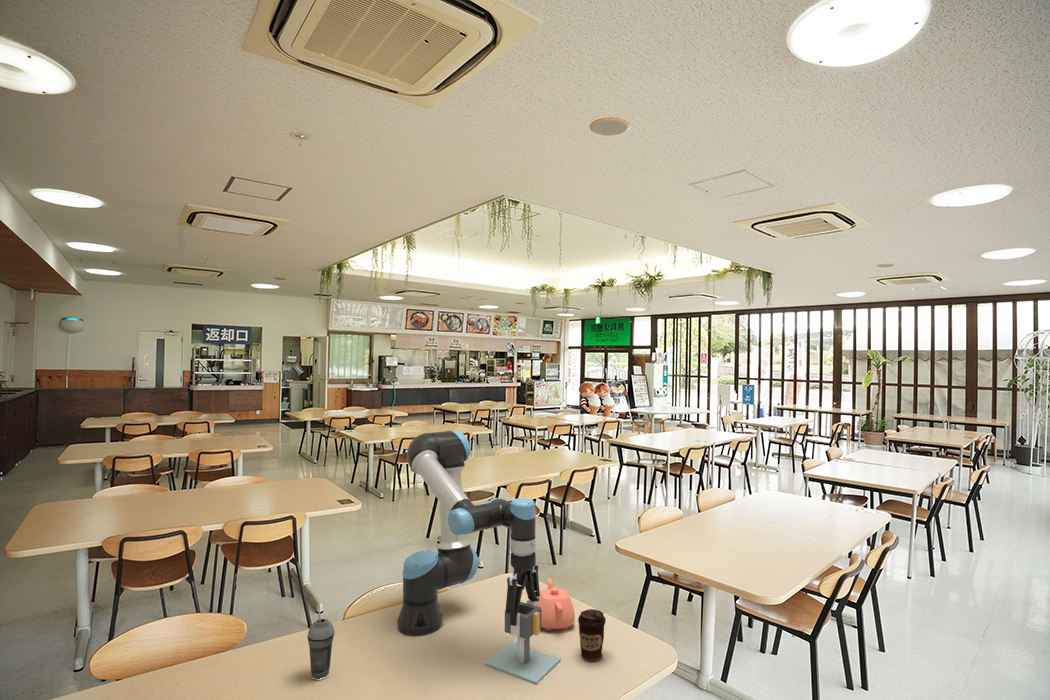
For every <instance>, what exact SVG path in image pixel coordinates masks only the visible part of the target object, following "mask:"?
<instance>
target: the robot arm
mask: <svg viewBox="0 0 1050 700" xmlns="http://www.w3.org/2000/svg"><path fill="white" fill-rule="evenodd" d="M469 442H470V441H469V440H468V438H467V437H466V436H465V434H464V433H463V432H462V431H459V430H446V431H437V432H423V433H421V434H418V435H416V437H414V438H413V439H412V440H411V442H409V445H408V447H407V449H406V450H407V451H406V459H407V460H406V461H407V464H408V466H409V468H410V469H411V471H412V472H413V473H414V474H415V475H419V476H420V477H421V478H422V480H423V481H424V482H425V484H426V485H427V486H428V488H429V490H430V491H431V492H432V493H433V495H434V496H435V497H436V498H437V499H438V503H439V518H440V519H439V520H440V521H439V523H440V538H441V539H440V540H441V541H440V542H439V544H438V545H437V552H436V551H435V550H431V549H430V550H429V549H428V550H420V551H417V552H416V551H415V552H414V553H412V554H410V555H408V557H406V559H405V560H404V562H403V567H402V568H403V569H402V605H401V608H400V611H399V616H397V620H396V621H397V625H396V626H397V630H398V631H399V632H400V633H401V634H403V633H404V635H408V636H414V637H415V636H424V635H429V634H432V633H434V632H437V631H439V629H440V628H441V627H442V625H443V614H442V612H441V608H440V607H441V606H440V603H439V601H438V593H439V592H438V591H439V590H442V589H446V588H448V587H452V586H455V585H458V584H459V585H460V584H464V583H466V582H467V581H470V580H472V579H473V578H474V576H475V575H476V573H477V571H478V567H479V566H478V564H479V561H478V559H479V558H478V555H477V553H476V550H475V548H474V547H473V546H471V542H470V541H469V540H467V539H466V535H469V534H472V533H476V532H480V531H484V530H490V529H493V528H497V527H504V528H507V529H510V566H511V567H512V568H513V573H512V577H507V579H506V583H507V587H506V588H507V589H506V591H507V593H506V599H505V601H506V602H505V610H504V613H505V612H506V613H508V614H510V621H511V622H510V624H511V634H510V636H512V637H517V638H518V637H520V613H518V610H519V605H520V602H521V601H522V600H521V599H522V594H523V590H525V592H526V595H527V598H528V599H527V600H526V603H527V604H530V605H534V606H536V602H538V601H539V598H538V597H539V596H540V592H541V590H540V580H539V565H537V563H536V560H537V558H536V556H537V555H536V544H537V543H536V520H537V517H536V516H537V513H536V512H537V511H536V503H535V501H534V500H533V499H531V498H525V497H518V498H514V499H512V500H511V501H509V500H507V499H503V498H498V497H494V498H490V500H489V501H488V502H486V503H481V504H476V505H475V504H474V503H473V502H472V501H471V500H470V499H469V497H468V495H466V494H465V492H464V491H463V484H462V470H463V469H464V468H465V467H466V466H465V462H466V461H467V460H468V459H469V458H470V455H471V447H470V443H469Z"/></svg>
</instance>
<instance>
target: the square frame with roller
mask: <svg viewBox="0 0 1050 700" xmlns="http://www.w3.org/2000/svg"><path fill="white" fill-rule="evenodd" d="M518 613H520V637H522V638H525V639H529V638H531V637H532V636H536V637H537V636H539V634H540V633H541V632H540V630H541V629H542V628H543V627H542V608H541V607H538V606H534V605H530V604H527V602H523V601H520V605H519V610H518ZM510 622H511V621H510V614H508V613H506V612H505V611H504V633H507V634H510V635H511V624H510Z"/></svg>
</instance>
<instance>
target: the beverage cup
mask: <svg viewBox="0 0 1050 700" xmlns="http://www.w3.org/2000/svg"><path fill="white" fill-rule="evenodd" d="M320 604H321V603H317V610H318V612H317V613H318V619H317V620H316V621H314V622H313V623H312V624H311V625H310V627H309V629H308V632H307V638H306V639H307V642H308V646H309V647H308V648H309V657H310V658H309V660H310V661H309V662H310V672H311V678H312V677H313V678H315V679H320V678H323V677H326V676H327V675H328V674H329V675H330V668H331V659H332V657H331V656H332V648H333V641H334V636H335V630H334V626H333V623H332V622H331V621H330V620H328V619H327V618H326V619H325V618H322V617H321V605H320ZM329 675H328V676H329Z"/></svg>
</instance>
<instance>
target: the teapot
mask: <svg viewBox="0 0 1050 700" xmlns="http://www.w3.org/2000/svg"><path fill="white" fill-rule="evenodd" d="M537 598H539V601H538V602H536V606H538V607H541V608H542V628H544V631H546V632H550V631H552V630H553V629H555V630H557V629H561V630H564V631H565V630H569V627H571V626H572V625H573V624H574V622H575V619H576V615H575V608H574V604H573V601H572V599H571V596H570V595H569V592H568V591H567V590H566V589H565V588H558V587H555V586H553V581H552V578H551V577H548V578H547V588H544V589H542V590H540V596H539V597H537Z"/></svg>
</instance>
